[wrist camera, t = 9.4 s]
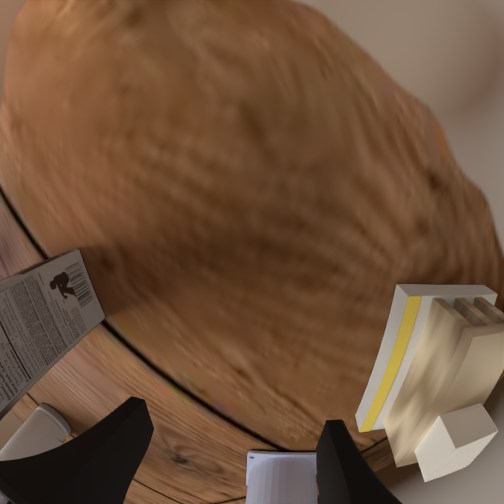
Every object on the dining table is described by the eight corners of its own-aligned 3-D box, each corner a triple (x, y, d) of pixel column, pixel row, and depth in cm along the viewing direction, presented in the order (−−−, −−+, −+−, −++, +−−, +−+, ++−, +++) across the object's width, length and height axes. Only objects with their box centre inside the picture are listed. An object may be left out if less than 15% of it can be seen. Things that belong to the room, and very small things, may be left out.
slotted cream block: (429, 414, 17) (447, 453, 12) (383, 423, 18) (396, 467, 13) (481, 296, 14) (522, 328, 9) (432, 297, 14) (473, 337, 10)
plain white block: (455, 438, 12) (467, 465, 9) (414, 450, 12) (424, 481, 9) (480, 402, 11) (498, 430, 8) (439, 414, 11) (455, 448, 8)
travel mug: (79, 433, 27) (22, 521, 7) (60, 430, 28) (6, 506, 9) (52, 402, 25) (-17, 489, 6) (35, 402, 27) (-27, 476, 7)
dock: (434, 404, 19) (441, 417, 17) (355, 415, 20) (359, 432, 18) (483, 284, 16) (498, 294, 14) (396, 283, 16) (408, 296, 14)
